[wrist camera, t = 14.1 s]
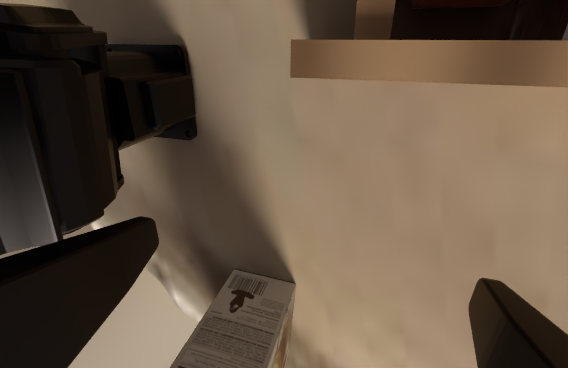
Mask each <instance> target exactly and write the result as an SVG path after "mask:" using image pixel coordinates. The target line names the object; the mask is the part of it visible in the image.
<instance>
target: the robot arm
mask: <svg viewBox="0 0 568 368" xmlns="http://www.w3.org/2000/svg"><path fill="white" fill-rule="evenodd" d="M105 44H108V43H107V34H106V32H101V31H96V30H93V28H92V27H91V26H86V25H84V24H82V23H81V22H80V20H79V19H78V18H77V17H76V15H75V14H74V13H73V11H72V10H66V9H60V8H51V7H43V6H34V5H25V4H7V3H0V255H2V254H5V253H9V252H13V251H17V250H21V249H25V248H30V247H35V246H41V247H38V248H34V249H31V250H28V251H25V252H21V253H18V254H14V255H12V256H8V257H5V258H2V259H0V368H68V366H69V365H70V364H71V363H72V361H73V360H74V359H75V358H76V356H77V355H78V354H79V353H80V351H81V350H82V349H83V348H84V346H85V345H86V344H87V343H88V341H89V340H90V339H91V337H92V336H93V335H94V334H95V332H96V331H97V330H98V329H99V328H100V326H101V325H102V324H103V322H104V321H105V320H106V319H107V317H108V316H109V315H110V314H111V312H112V311H113V310H114V309H115V307H116V306H117V305H118V304H119V302H120V301H121V300H122V299H123V297H124V296H125V295H126V294H127V292H128V291H129V290H130V288H131V287H132V285H133V284H134V282H135V281H136V279H137V278H138V276H139V275H140V273H141V272H142V270H143V269H144V267H145V266H146V264H147V263H148V261H149V260H150V258H151V257H152V255H153V254H154V252H155V251H156V249H157V247H158V244H159V238H158V233H157V228H156V223H155V221H154V220H153V219H152V218H148V217H142V216H141V217H136V218H133V219H130V220H126V221H123V222H120V223H117V224H113V225H110V226H107V227H103V228H100V229H97V230H93V231H91V232H87V233H84V234H81V235H77V236H74V237H70V238H67V239H63V235H66V234H69V233H72V232H74V231H76V230H79V229H81V228H82V227H84V226H86V225H89V224H91V223H92V222H94V221H96V220H98V219H99V218H101V217H102V216H103V215H104V209H105V208H106V207H107V206H108V205H109V204H110V203H111V202H112V201H113V200H114V199H115V198H116V195H117V192H118V190H119V189H120V188H121V186H122V185H123V184H124V177H123V175H122V174H121V168H120V160H119V150H121V149H124V148H126V147H129V146H131V145H134V144H136V143H139V142H141V141H144V140H146V139H149V138H151V137H163V138H173V139H183V140H192V139H194V138H195V137H196V136H197V129H196V120H195V114H196V111H195V103H194V95H193V86H192V79H191V78H190V71H189V63H188V54H187V50H186V49H185V47H184V46H182V45H127V44H108V45H105ZM178 50H180V52H181V56H179V55H178ZM112 51H113V52H112ZM188 131H190V132H191V135H190V134H189V133H188ZM43 245H44V246H43ZM469 317H470V323H471V329H472V336H473V342H474V348H475V354H476V360H477V366H478V368H568V334H566V333H565V332H564V331H563V330H561V329H560V328H559V327H558V326H556V325H555V324H554V323H553V322H551V321H550V320H549V319H548V318H546V317H545V316H544V315H543V314H541V313H540V312H539V311H538V310H536V309H535V308H534V307H533V306H531V305H530V304H529V303H528V302H526V301H525V300H524V299H523V298H521V297H520V296H519V295H518V294H516V293H515V292H514V291H513V290H511V289H510V288H509V287H508V286H506V285H505V284H504V283H503V282H501V281H498V280H493V279H488V278H481V279H479V280H478V282H477V284H476V286H475V289H474V292H473V294H472V297H471V300H470V302H469Z"/></svg>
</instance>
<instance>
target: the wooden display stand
mask: <svg viewBox="0 0 568 368" xmlns="http://www.w3.org/2000/svg"><path fill="white" fill-rule="evenodd" d="M395 2H396V0H357V7H356V17H355V27H354V38H353V40H291V73H290V77H294V78H322V79H350V80H378V81H406V82H434V83H462V84H490V85H517V86H545V87H568V41H557V40H390V36H391V29H392V22H393V15H394V9H395Z"/></svg>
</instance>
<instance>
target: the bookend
mask: <svg viewBox="0 0 568 368" xmlns="http://www.w3.org/2000/svg"><path fill="white" fill-rule="evenodd" d="M507 40H557V41H568V0H519V1H518V4H517V8H516V11H515V14H514V18H513V21H512V24H511V28H510V31H509V35H508V38H507Z"/></svg>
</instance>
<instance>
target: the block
mask: <svg viewBox="0 0 568 368" xmlns="http://www.w3.org/2000/svg"><path fill="white" fill-rule="evenodd" d="M511 1H514V0H412V5H411V9H416V8H453V7H490V6H499V5H502V4H505V3H508V2H511Z"/></svg>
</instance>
